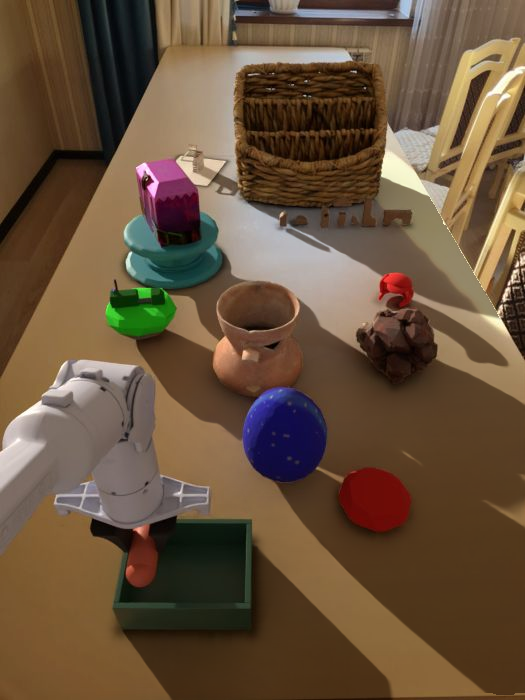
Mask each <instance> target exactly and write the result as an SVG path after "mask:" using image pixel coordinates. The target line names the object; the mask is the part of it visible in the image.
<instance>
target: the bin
mask: <svg viewBox="0 0 525 700" xmlns="http://www.w3.org/2000/svg"><path fill="white" fill-rule="evenodd" d="M133 529H134V528H133ZM128 557H129V553H125V552H123V551H122V557H121V562H120V567H119V571H118V577H117V583H116V587H115V592H114V597H113V603H112V607H111V608H112V609H111V610H112V611H113V613H114V616H115V618H116V620H117V623H118V625H119V628H120V630H246V631H247V630H252V590H253V589H252V583H253V582H252V581H253V580H252V579H253V578H252V577H253V575H252V574H253V519H252V518H177V522H176V529H175V532H174V534H173V536H171V537H169V538H168V539H167V541H166V545H165V552H164V553H158V560H157V567H156V573H155V577H154V579H153V580H152V582H151V583H149V584H148V585H146V586H144V587H136V586H133V585H132V584H131V583H129V581H128V580H127V577H126V568H127V562H128Z"/></svg>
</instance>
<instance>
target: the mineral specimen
mask: <svg viewBox="0 0 525 700" xmlns="http://www.w3.org/2000/svg"><path fill="white" fill-rule="evenodd" d="M429 322H430V317H428V316H427V315H426V314H425V313H424V312H423V311H422V310H421V309H418V308H413V309H412V308H409V307H405V308H399V309H398V310H391V309H389V308H381V309H380V310H378V311H377V312H375V314H374V317H373V322H368V321H367V322H363V323H362V325H361V326H360V327H359V328H357V330H356V333H355V337H356V342H357V343H358V344H359V348H360V349H361V350H362V351H363V353H366V356H367V358H368V359H369V361H371V365H372V366H373V367H374V368H375V369H376V370H377V371H378V372H381V373H383V375H384V376H387V377H388V379H389V380H390V382H391V383H392V384H398V383H400V382H401V383H402V382H403V381H404V379H405V377H406V376H409V375H418V374H419V372H423V371H424V369H425V368H427V367H428V366H429V365H431V364H433V360H434V359H437V356H438V345H439V344H438V343H436V342H435V330H434V329H433V327H432V325H430V323H429Z"/></svg>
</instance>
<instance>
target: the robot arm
mask: <svg viewBox="0 0 525 700" xmlns="http://www.w3.org/2000/svg"><path fill="white" fill-rule="evenodd" d="M155 377H156V376H153V375H152V374H151V373H146V371H145V369H144V367H142V366H140V365H133V364H127V363H116V362H108V361H101V360H100V361H99V360H91V359H80V360H78V359H70V360H68V359H67V360H66V361H65V362H64V363H63V364H62V365H61V366H60V369H59V371H58V373H57V375H56V377H55V380H54V382H53V384H52V385H50V386H49V387H48V390H47V391H46V392H44V393H43V394H42V395H41V400H39V401H38V402H36V403H34V404H33V405H32V406H30V407H29V408H28V409H27V410H25V411H23V412H22V413H20V414H19V415H18V416H16V417H15V418H14V419H12V421H11V422H10V423H9V424H8V426H7V427H6V428H5V431H4V434H3V438H2V448H1V449H2V450H1V451H0V557H1V556H2V555H4V553H5V551H6V550H7V549H8V547H9V546H10V545H11V544H12V543H13V541H14V540H15V538H16V537H17V536H18V535H19V533H20V532H21V530H22V529H23V528H24V527H25V525H26V524H27V522H28V521H29V520H30V519H31V517H32V516H33V515H34V513H36V511H37V509H38V508H39V507H40V506H41V504H42V503H43V502H44V500H45V499H46V497H48V496H50V495H51V496H55V497H54V501H53V507H54V509H55V512H56V514H57V516H59V517H61V516H63V517H64V516H65V517H66V516H69V515H71V513H72V512H74V513H77V514H80V515H82V516H85V517H88V518H90V519H91V521H90V525H89V531H90V533H91V536H92V537H94V538H101V539H104V540H107V541H109V542H110V543H112V544H113V545H115V546H116V547H117V548H119V549H120V550H121V551H122V553H123V552H125V553H129V552H130V546H131V540H132V535H133V528H138V527H142V526H145V525H148V524H150V526H149V533H148V535H149V536H150V537H152V538H153V540H154V541H155V545H156V551H157V552H158V553H164V552H165V545H166V541H167V539H168V538H169V537H171V536H173V534H174V532H175V529H176V522H177V519H178V516H179V515H182V514H185V513H189V512H193V511H198V514H199V516H210V515H211V504H212V494H211V486H204V485H203V486H201V485H196V484H191V483H189V482H185V481H183V480H180V479H176V478H173V477H170V476H167V475H164V474H161V472H160V467H159V462H158V457H157V452H156V447H155V441H154V438H153V434H154V432H155V430H156V419H157V418H156V412H155V404H156V378H155ZM90 475H91V477H92V480H89V481H86V482H84V481H85V480H86V479H87V478H88V477H89V476H90Z"/></svg>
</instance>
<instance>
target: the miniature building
mask: <svg viewBox="0 0 525 700" xmlns="http://www.w3.org/2000/svg"><path fill="white" fill-rule="evenodd" d="M113 285H114V288H115V289H114V288H110V291H109V302H108V303H107V305H106V310H105V313H104V315H105V318H106V323H107V326H108V327H109V328H111V329H112V330H114V331H115V332H117V333H118V334H120V335H122V336H124V337H127V338H128V339H132V340H136V341H142V340H146V339H149V338H153V337H156V336H159V335H160V334H162V333H163V332H164V331H165V330H166V328H168V326H169V324H171V322H172V321H173V319H174V318H175V316H176V313H177V306H176V304H175V303H174V300H173V299H172V297H171V295H169V293H168V292H167V291H166V290H164V289H162V288H155V287H132V288H128V289H119V288H118V287H119V286H118V282H117V279H116V278H114V279H113Z"/></svg>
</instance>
